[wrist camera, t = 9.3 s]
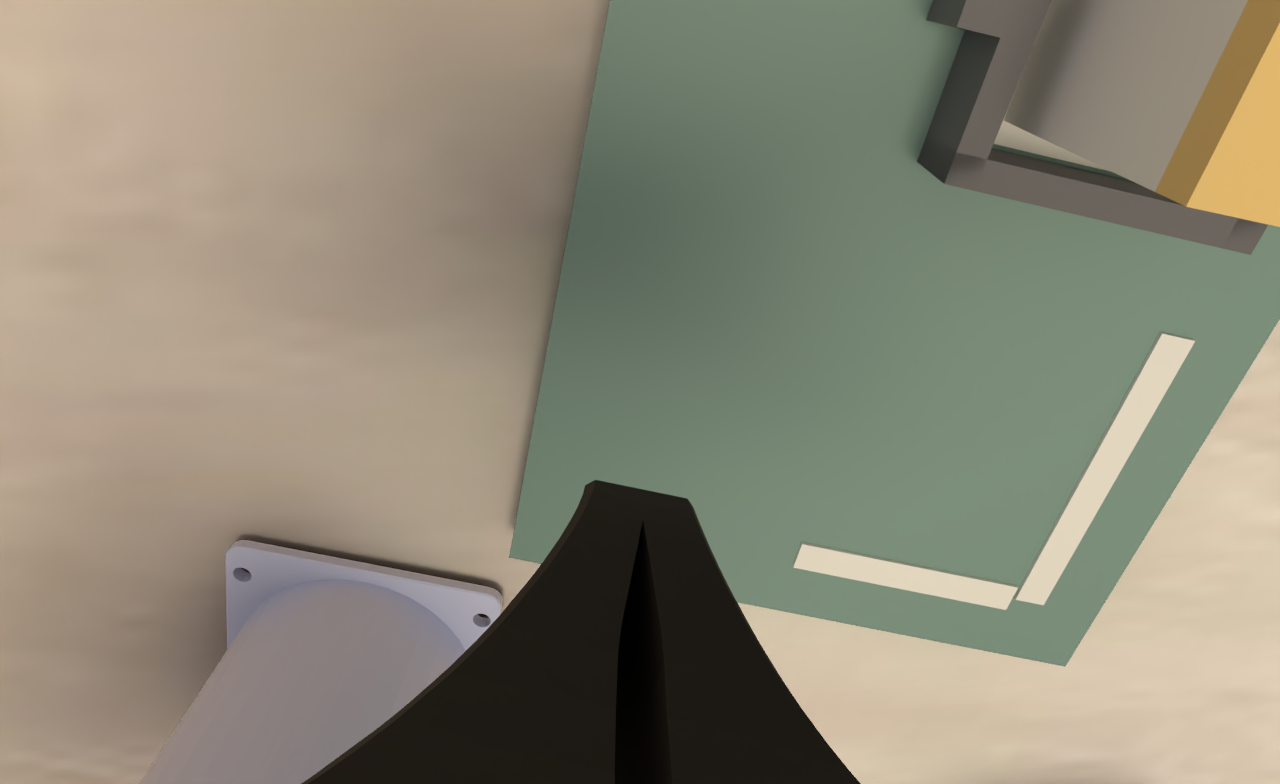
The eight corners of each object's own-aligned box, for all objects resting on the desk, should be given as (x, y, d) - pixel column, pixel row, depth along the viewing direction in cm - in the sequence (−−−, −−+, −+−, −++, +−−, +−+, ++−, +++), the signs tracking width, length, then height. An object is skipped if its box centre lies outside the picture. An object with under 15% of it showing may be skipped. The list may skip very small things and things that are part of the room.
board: (1048, 636, 25) (1096, 723, 22) (516, 531, 24) (494, 607, 21) (1587, -276, 15) (1805, -334, 12) (709, -524, 14) (717, -651, 11)
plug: (1166, 156, 17) (1434, 260, 11) (1003, 120, 17) (1186, 206, 11) (1301, -124, 15) (1732, -185, 9) (1116, -169, 15) (1424, -263, 9)
